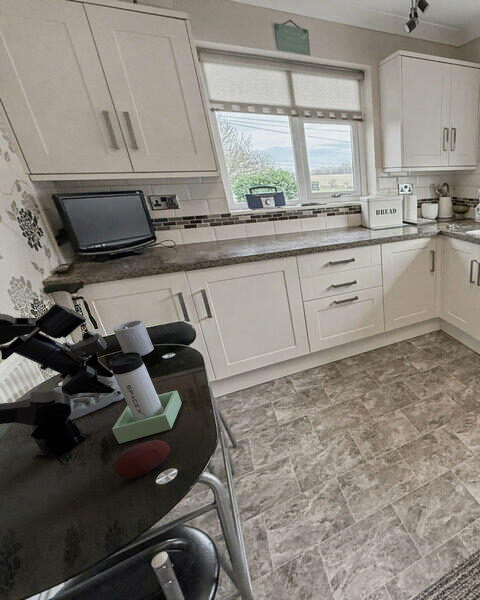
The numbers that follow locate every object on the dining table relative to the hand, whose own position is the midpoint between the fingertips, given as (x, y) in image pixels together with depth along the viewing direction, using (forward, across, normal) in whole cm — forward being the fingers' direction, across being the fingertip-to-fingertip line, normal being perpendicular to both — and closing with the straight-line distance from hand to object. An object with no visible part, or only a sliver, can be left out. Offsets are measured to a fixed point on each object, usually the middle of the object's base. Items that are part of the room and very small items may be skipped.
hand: (112, 383), depth 88 cm
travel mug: (+12, -8, +1) cm, 14 cm away
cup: (+15, +48, +3) cm, 50 cm away
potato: (+10, -27, +3) cm, 29 cm away
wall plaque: (+6, +23, +14) cm, 28 cm away
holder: (+12, -8, +1) cm, 15 cm away
